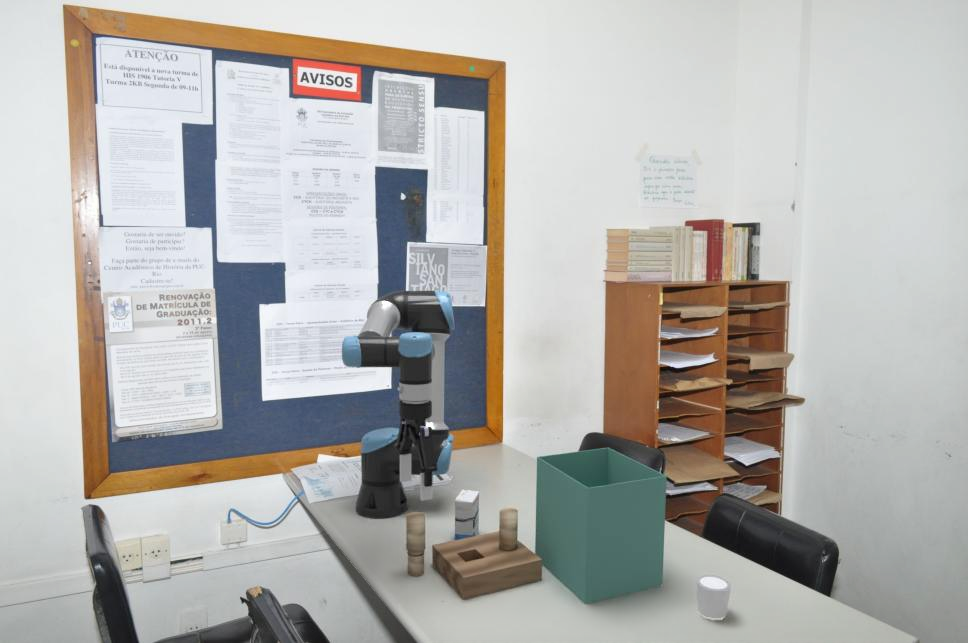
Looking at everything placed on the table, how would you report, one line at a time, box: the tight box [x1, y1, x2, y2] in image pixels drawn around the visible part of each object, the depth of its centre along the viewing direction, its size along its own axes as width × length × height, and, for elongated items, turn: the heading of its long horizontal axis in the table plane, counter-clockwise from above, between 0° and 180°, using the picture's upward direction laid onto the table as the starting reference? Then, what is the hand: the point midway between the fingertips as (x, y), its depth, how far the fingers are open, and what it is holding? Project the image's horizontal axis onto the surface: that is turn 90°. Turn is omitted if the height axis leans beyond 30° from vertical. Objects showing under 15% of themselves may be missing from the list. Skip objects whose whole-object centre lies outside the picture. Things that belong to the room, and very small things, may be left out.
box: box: [534, 447, 668, 605], centre depth 158 cm, size 23×21×26 cm
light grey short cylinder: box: [695, 574, 732, 618], centre depth 141 cm, size 7×7×7 cm
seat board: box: [431, 507, 543, 600], centre depth 158 cm, size 18×20×14 cm
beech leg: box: [405, 511, 426, 577], centre depth 158 cm, size 4×4×14 cm
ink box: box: [454, 489, 480, 540], centre depth 177 cm, size 8×5×12 cm, turn 168°
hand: (415, 489), depth 156 cm, fingers open, 13 cm apart
